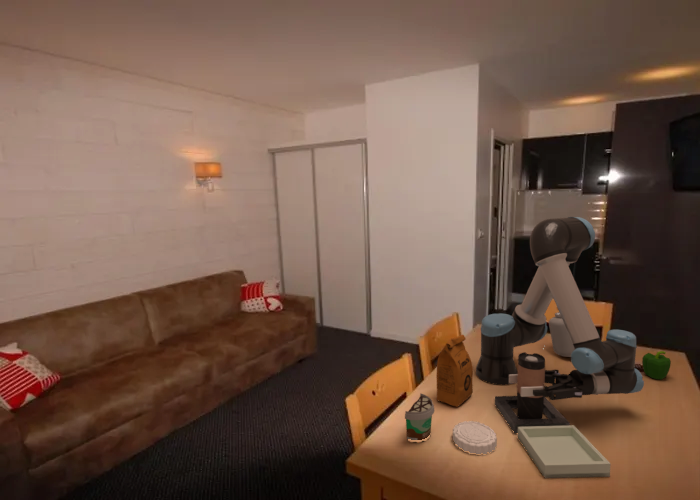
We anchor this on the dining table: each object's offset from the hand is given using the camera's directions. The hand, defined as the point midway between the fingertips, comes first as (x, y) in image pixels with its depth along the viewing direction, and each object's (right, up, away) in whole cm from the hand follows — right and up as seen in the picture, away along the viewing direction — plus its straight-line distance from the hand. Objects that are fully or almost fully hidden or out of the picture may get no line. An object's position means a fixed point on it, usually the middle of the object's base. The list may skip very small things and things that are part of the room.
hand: (515, 385), depth 120 cm
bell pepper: (+63, -6, +25) cm, 68 cm away
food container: (-29, -13, -6) cm, 33 cm away
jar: (+43, -3, +47) cm, 64 cm away
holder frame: (+5, -11, +2) cm, 12 cm away
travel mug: (+5, -11, +2) cm, 12 cm away
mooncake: (-16, -13, -9) cm, 22 cm away
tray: (+5, -13, -16) cm, 21 cm away
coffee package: (-15, -10, +14) cm, 23 cm away
